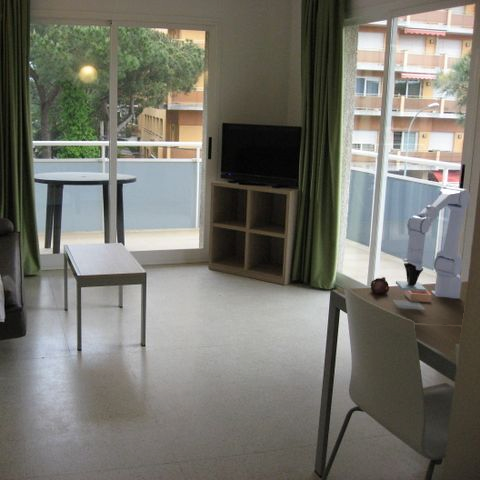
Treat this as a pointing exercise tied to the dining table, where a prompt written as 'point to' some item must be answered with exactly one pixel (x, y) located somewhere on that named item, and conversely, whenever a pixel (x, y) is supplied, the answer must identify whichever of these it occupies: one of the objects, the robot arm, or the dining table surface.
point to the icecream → (379, 286)
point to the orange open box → (418, 296)
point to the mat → (408, 304)
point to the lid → (410, 286)
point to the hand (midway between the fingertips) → (411, 283)
